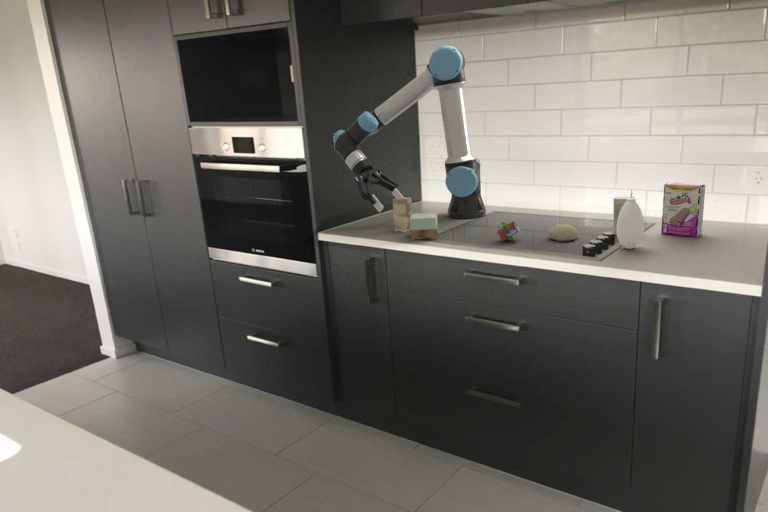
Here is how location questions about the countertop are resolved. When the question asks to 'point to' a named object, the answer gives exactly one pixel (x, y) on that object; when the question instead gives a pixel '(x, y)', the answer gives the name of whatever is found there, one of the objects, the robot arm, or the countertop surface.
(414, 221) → the tower top block
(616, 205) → the skincare box
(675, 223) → the candy bar box
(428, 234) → the tower base block
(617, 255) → the countertop surface
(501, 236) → the geometric puzzle
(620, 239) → the white air blower bulb
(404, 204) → the tall oak block
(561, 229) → the sea urchin shell
